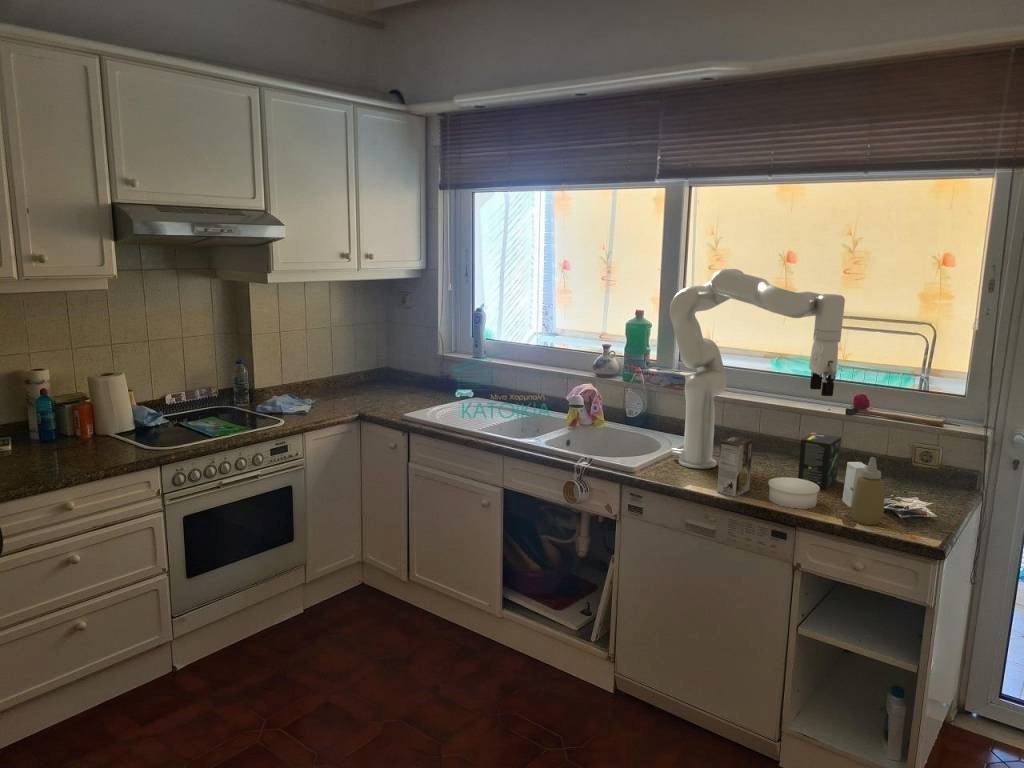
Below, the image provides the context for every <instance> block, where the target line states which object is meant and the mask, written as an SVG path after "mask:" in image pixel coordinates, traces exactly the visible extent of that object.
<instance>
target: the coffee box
mask: <svg viewBox="0 0 1024 768" xmlns="http://www.w3.org/2000/svg"><path fill="white" fill-rule="evenodd" d="M752 455H753V439H750V438H748V437H747V438H746V437H743V436H738V435H732V436H730V437H727V438H725V439H722V440H721V441H720V447H719V461H718V462H719V463H718V471H717V472H718V476H717V477H718V478H717V489H716V490H717V491H716V493H718V492H720V493H719V494H722V493H723V495H725V494H727V496H729V495H731V496H730V497H733V496H735V497H734V498H737V497H738V496H740V495H742V494H744V493H747V492H748V491H750V488H751V487H750V485H751V470H752ZM736 496H737V497H736Z"/></svg>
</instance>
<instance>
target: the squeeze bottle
mask: <svg viewBox="0 0 1024 768" xmlns="http://www.w3.org/2000/svg"><path fill="white" fill-rule="evenodd" d="M866 466H867V469H863V470H862V476H860V477H859V478H858V479H857V483H856V487H855V492H854V496H853V501H852V505H851V511H852V515H853V516H852V517H853V520H854V521H855V522H856V523H859V524H861V525H867V526H875V525H878V524H879V522H880V520H881V518H882V516H883V514H884V513H885V481H884V480H883V479H881V477H882V472H881V470H878V466H877V458H876V457H873V456H871V457H870V459H869V462H868V464H867V465H866Z"/></svg>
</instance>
